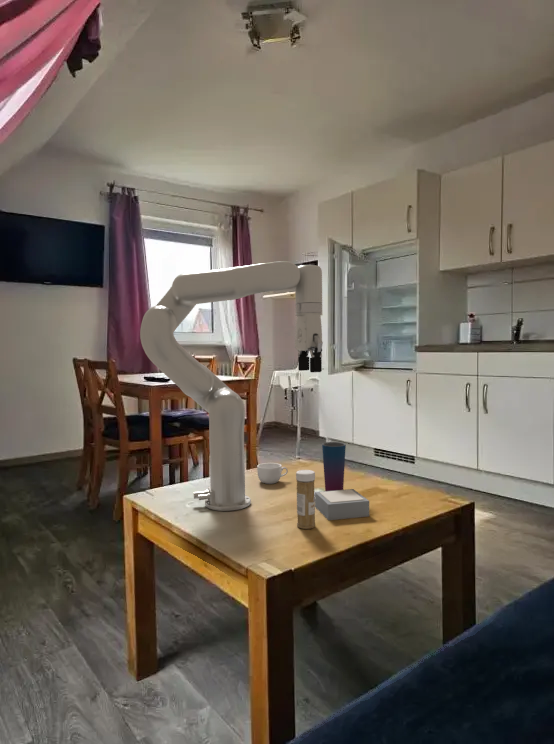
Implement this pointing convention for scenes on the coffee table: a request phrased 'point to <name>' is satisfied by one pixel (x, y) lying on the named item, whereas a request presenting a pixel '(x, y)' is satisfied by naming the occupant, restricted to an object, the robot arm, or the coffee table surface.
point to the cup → (334, 465)
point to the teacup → (270, 472)
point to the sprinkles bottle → (305, 499)
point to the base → (341, 504)
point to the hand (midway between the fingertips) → (309, 371)
